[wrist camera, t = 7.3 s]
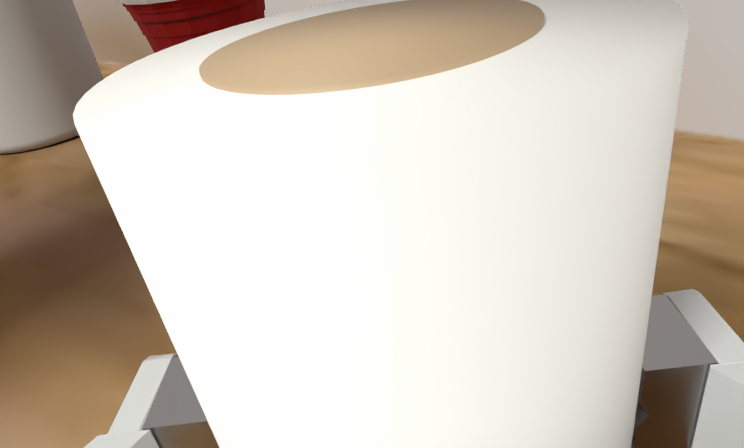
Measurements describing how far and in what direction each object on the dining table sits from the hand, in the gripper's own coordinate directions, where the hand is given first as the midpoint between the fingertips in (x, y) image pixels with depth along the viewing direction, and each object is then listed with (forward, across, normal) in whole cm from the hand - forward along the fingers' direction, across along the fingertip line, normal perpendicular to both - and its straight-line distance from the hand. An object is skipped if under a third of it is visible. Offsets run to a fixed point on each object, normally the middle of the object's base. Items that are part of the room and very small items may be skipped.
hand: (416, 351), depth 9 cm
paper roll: (-1, 0, -8) cm, 8 cm away
